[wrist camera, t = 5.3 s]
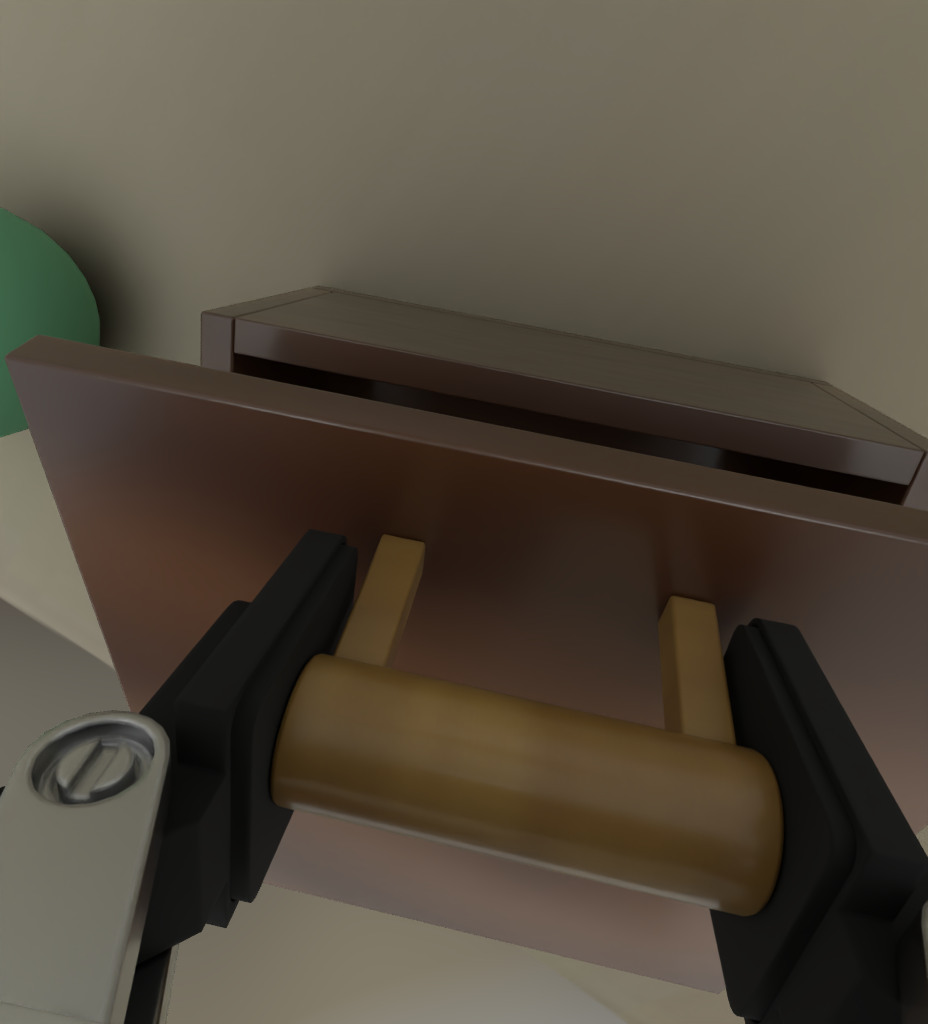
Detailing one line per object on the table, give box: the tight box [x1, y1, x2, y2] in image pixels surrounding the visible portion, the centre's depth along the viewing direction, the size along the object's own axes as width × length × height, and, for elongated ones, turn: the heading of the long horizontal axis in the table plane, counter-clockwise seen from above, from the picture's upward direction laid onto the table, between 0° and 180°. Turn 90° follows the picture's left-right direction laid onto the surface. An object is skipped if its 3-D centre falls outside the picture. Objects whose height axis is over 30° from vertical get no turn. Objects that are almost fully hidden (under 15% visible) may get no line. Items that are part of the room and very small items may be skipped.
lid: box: [5, 335, 928, 994], centre depth 13 cm, size 17×17×5 cm
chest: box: [201, 286, 928, 511], centre depth 21 cm, size 17×17×8 cm
